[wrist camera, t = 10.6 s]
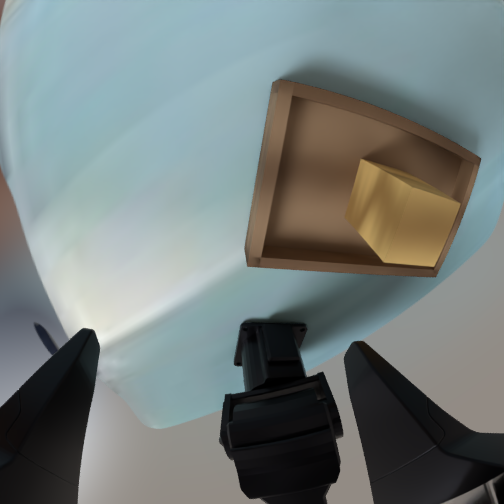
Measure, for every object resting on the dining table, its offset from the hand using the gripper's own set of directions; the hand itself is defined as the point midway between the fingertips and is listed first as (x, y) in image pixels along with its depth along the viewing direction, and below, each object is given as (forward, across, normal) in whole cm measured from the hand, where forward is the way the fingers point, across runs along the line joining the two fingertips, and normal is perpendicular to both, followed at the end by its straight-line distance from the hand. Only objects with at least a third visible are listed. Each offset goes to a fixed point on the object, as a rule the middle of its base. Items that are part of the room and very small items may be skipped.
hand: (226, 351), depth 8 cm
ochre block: (+11, -11, -3) cm, 16 cm away
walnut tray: (+12, -11, -3) cm, 17 cm away
